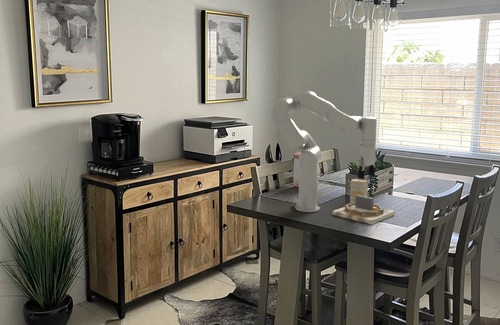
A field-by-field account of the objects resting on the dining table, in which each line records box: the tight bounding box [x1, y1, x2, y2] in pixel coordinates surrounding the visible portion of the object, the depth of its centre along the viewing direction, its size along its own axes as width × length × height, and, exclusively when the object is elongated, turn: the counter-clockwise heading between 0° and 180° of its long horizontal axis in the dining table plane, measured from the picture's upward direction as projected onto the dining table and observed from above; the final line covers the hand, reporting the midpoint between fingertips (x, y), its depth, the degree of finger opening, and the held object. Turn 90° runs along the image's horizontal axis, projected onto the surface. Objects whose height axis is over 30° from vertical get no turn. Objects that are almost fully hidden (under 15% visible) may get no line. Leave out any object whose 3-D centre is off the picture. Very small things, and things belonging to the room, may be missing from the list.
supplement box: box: [349, 178, 369, 203], centre depth 274 cm, size 8×5×13 cm, turn 56°
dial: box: [350, 195, 378, 211], centre depth 254 cm, size 14×14×7 cm
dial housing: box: [332, 202, 396, 225], centre depth 254 cm, size 22×22×4 cm
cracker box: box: [292, 151, 301, 188], centre depth 308 cm, size 14×6×21 cm, turn 42°
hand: (366, 176), depth 251 cm, fingers open, 9 cm apart
